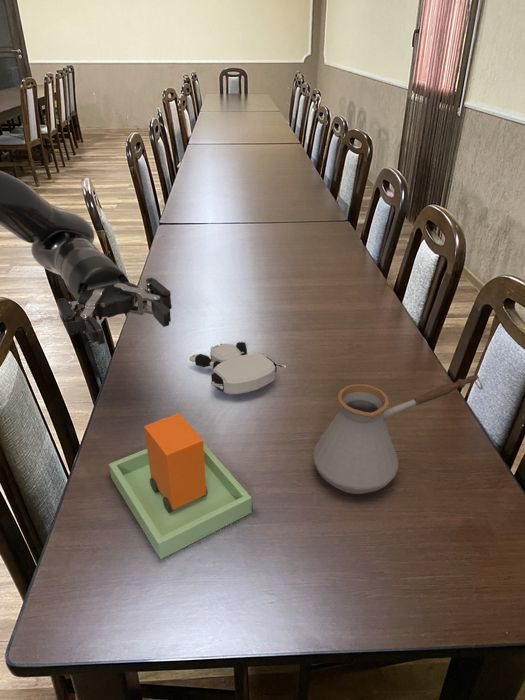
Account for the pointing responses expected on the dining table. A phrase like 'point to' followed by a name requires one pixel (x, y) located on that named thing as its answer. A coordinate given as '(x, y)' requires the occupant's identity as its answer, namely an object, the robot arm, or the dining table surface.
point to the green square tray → (187, 520)
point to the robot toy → (237, 368)
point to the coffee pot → (365, 438)
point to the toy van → (175, 461)
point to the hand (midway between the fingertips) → (135, 328)
